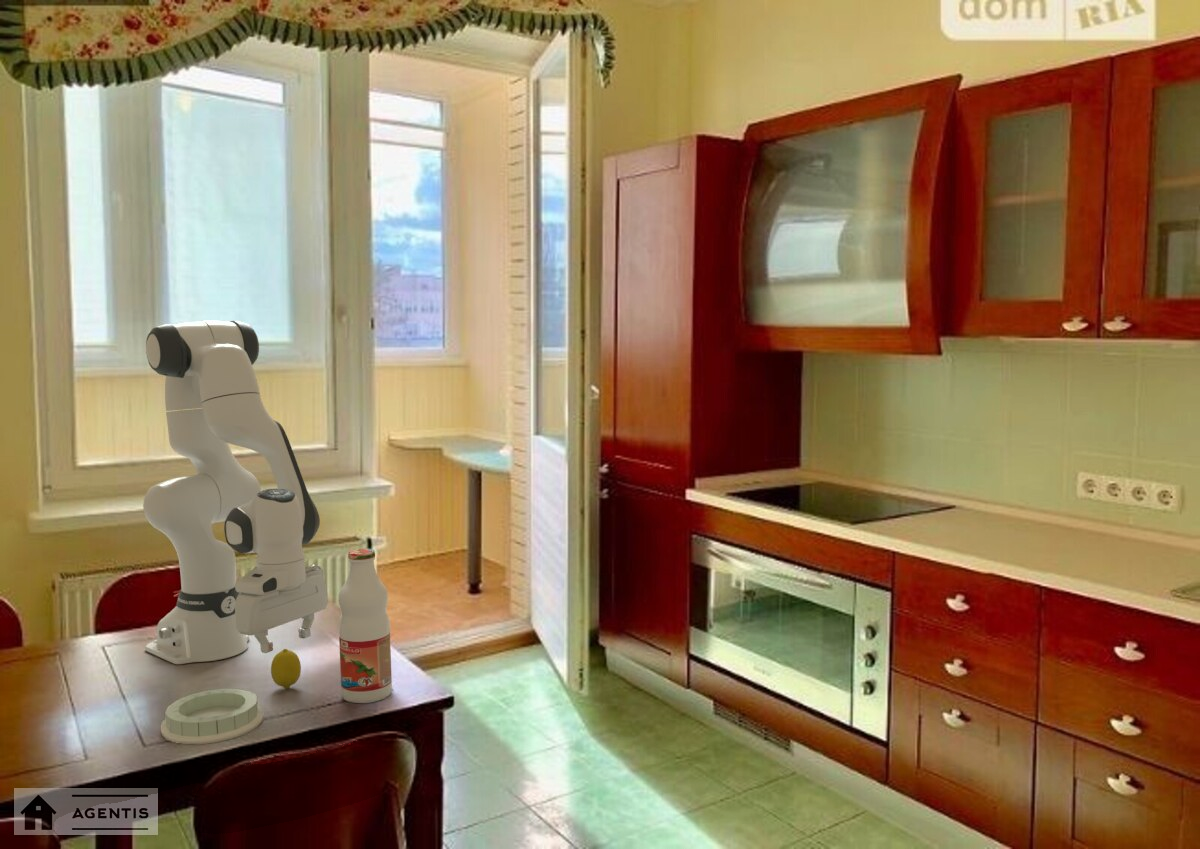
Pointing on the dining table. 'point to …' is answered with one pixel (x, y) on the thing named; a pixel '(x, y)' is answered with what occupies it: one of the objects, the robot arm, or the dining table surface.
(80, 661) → the dining table surface
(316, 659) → the dining table surface
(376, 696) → the fruit juice
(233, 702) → the ceramic dish
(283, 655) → the lemon
